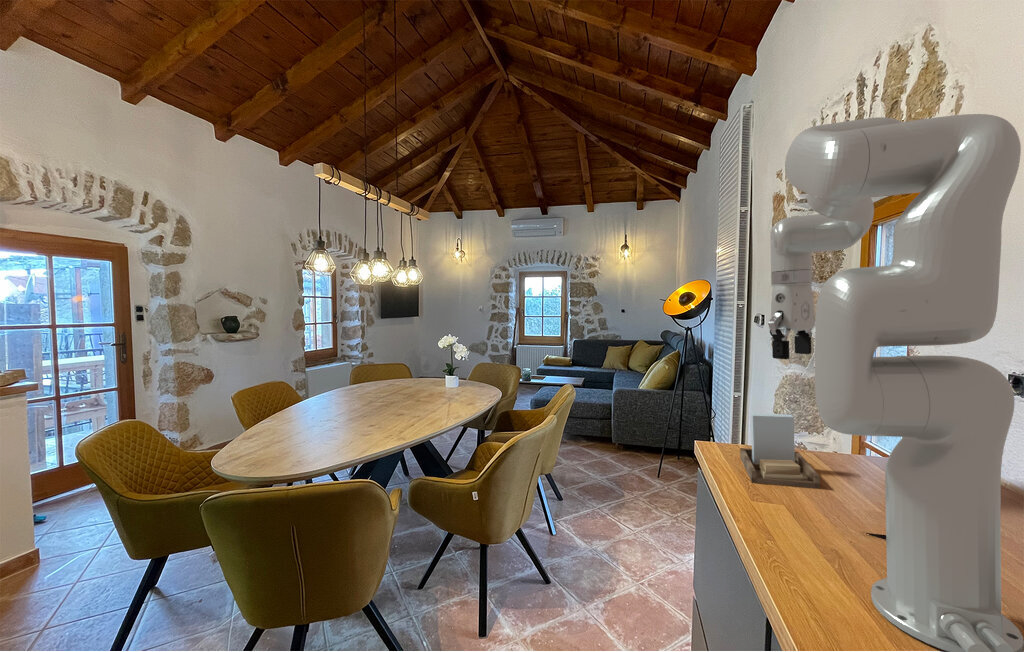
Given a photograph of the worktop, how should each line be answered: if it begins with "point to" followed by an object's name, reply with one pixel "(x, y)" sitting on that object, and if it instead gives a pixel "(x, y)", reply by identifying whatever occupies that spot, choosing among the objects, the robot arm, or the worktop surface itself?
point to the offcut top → (780, 467)
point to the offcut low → (782, 476)
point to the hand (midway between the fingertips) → (792, 356)
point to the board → (772, 437)
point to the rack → (754, 472)
